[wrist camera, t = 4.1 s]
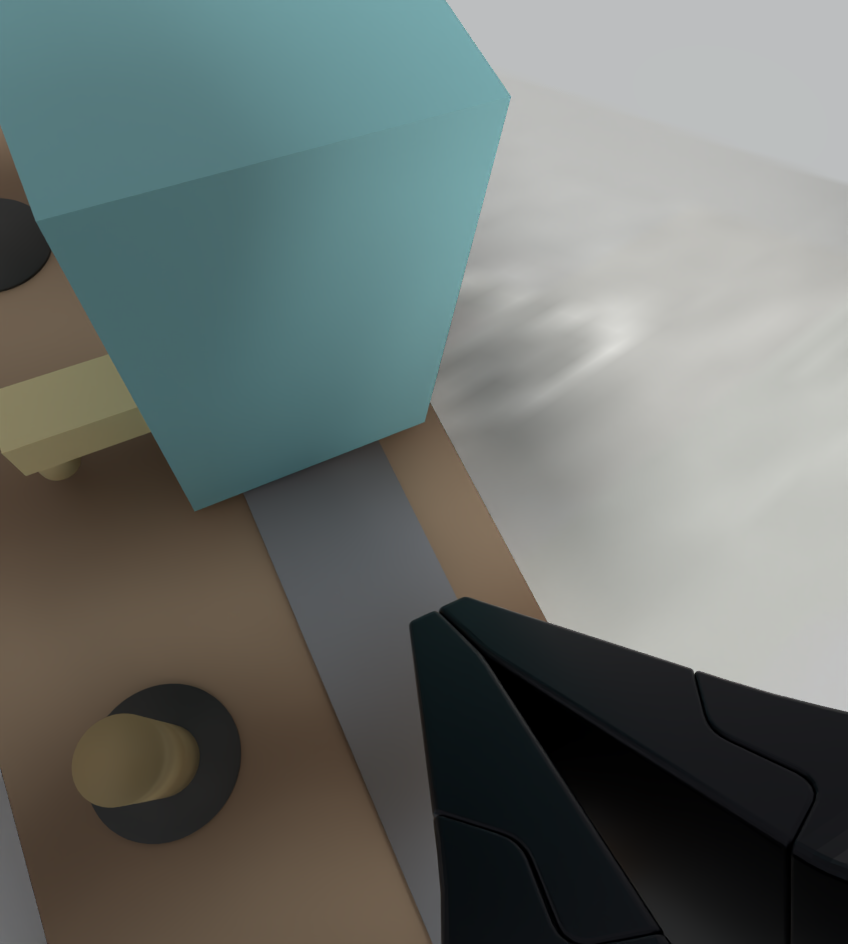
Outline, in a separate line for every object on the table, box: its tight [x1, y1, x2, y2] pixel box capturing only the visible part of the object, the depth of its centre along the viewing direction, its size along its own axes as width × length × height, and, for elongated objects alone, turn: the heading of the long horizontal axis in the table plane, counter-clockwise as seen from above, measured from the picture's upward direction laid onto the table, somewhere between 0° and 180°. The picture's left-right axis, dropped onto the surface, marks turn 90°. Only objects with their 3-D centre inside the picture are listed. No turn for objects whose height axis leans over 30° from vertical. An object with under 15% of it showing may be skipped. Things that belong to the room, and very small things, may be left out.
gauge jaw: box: [0, 0, 511, 511], centre depth 11 cm, size 4×7×8 cm, turn 116°
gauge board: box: [0, 126, 547, 944], centre depth 14 cm, size 22×10×5 cm, turn 26°
